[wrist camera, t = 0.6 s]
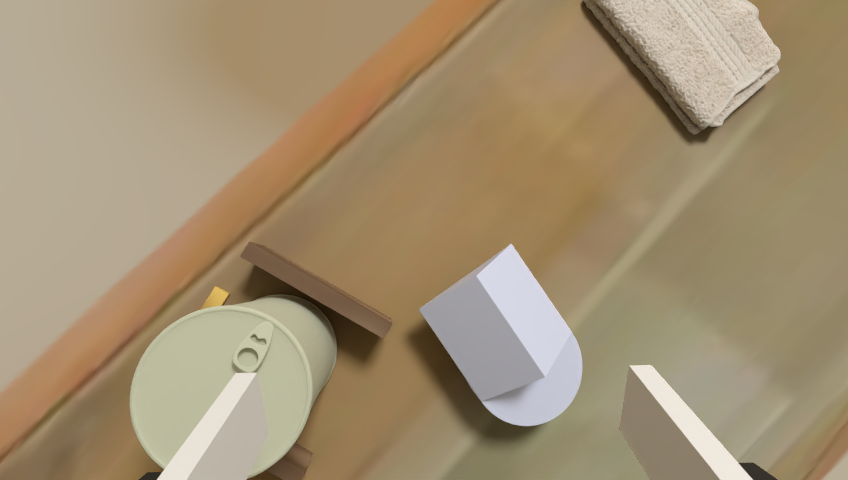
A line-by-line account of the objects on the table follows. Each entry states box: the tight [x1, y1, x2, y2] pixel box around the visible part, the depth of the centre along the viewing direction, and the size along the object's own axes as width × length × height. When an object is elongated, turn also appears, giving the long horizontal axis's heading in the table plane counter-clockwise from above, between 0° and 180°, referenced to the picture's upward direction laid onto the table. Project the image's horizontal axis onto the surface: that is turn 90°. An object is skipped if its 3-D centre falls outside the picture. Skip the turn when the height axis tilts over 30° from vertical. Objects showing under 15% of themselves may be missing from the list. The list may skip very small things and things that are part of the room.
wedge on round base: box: [419, 244, 582, 426], centre depth 31 cm, size 9×7×13 cm
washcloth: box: [583, 0, 781, 135], centre depth 37 cm, size 12×18×3 cm, turn 41°
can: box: [130, 294, 337, 479], centre depth 26 cm, size 9×9×12 cm
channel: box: [200, 242, 392, 480], centre depth 30 cm, size 13×14×4 cm
